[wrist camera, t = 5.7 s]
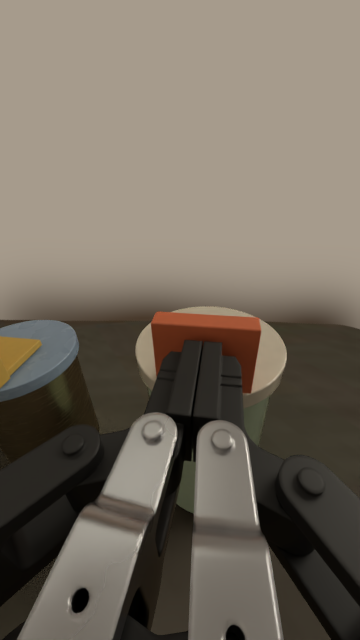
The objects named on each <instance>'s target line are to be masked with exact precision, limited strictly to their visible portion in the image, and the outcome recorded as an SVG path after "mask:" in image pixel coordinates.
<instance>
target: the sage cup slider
mask: <svg viewBox="0 0 360 640" xmlns="http://www.w3.org/2000/svg"><path fill="white" fill-rule="evenodd" d="M151 331H152V340H153V349H154V359H155V368H156V377H157V375H158V372H159V370H160V366H161V363H162V360H163V359H164V358H165V357H166V356H167V355H168V354H169V353H170V352H171V351H175V352H181V351H182V348H183V344H184V340H195V341H203V345H204V341H210V342H222V355H224V356H235V357H236V359H237V360H238V362H239V363H240V365H241V372H242V391H243V393H248V394H250V393H251V391H252V385H253V379H254V373H255V367H256V361H257V355H258V349H259V343H260V337H261V325H260V319H259V318H257V317H240V316H223V315H207V314H190V313H173V312H156V314H155V316H154V318H153V320H152V322H151Z"/></svg>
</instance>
